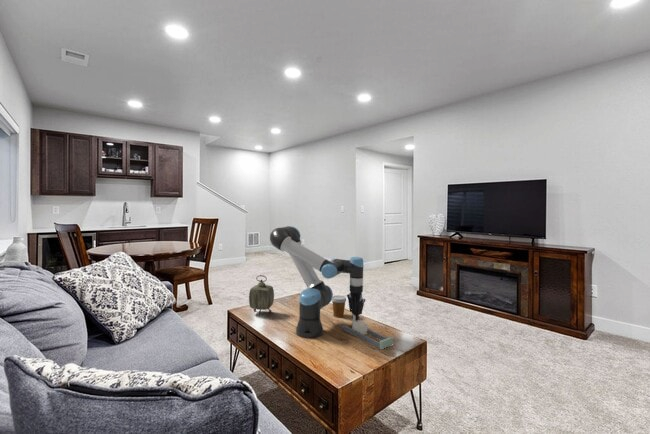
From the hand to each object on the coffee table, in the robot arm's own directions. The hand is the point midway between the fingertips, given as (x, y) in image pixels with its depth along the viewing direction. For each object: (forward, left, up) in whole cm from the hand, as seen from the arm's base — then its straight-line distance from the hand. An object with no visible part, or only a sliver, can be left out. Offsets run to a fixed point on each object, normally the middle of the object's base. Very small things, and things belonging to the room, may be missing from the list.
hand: (355, 325), depth 179 cm
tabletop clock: (-31, +56, -4) cm, 64 cm away
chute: (0, -8, -4) cm, 9 cm away
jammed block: (0, -4, -4) cm, 5 cm away
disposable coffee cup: (+8, +24, -4) cm, 25 cm away
